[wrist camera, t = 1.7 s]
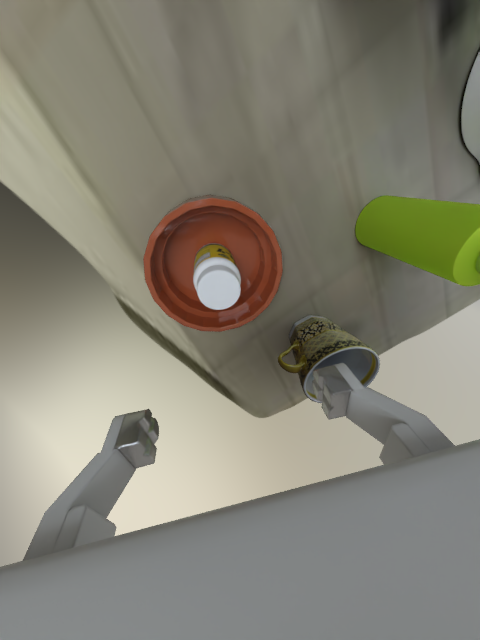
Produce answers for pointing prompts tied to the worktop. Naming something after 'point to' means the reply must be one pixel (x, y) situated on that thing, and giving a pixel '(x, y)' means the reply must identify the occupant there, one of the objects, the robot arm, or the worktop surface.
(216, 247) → the supplement bottle
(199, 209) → the bowl
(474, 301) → the worktop surface
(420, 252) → the soap dispenser
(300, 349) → the ceramic cup
